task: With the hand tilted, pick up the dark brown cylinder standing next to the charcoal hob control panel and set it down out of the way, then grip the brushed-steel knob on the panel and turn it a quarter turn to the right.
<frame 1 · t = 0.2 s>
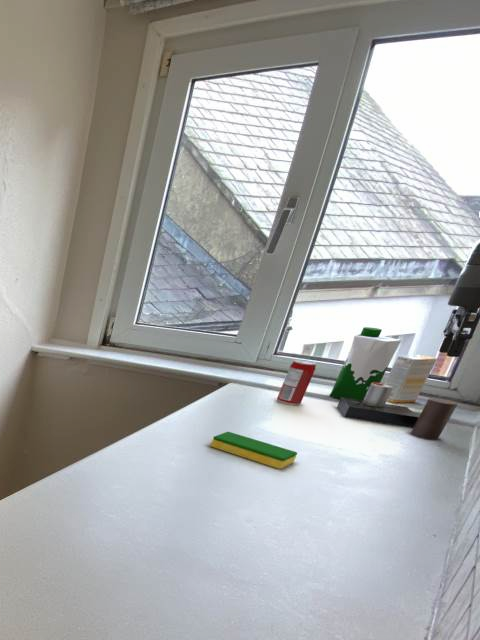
hand: (448, 354, 136), 18 cm above the counter, tool pointing down, fingers open, 8 cm apart
dark brown cylinder: (423, 435, 135), on the counter
milk carton: (349, 399, 162), on the counter
dish sponge: (250, 455, 120), on the counter
hob knob: (377, 394, 145), point 6 cm above the counter, hinge at 0.0°
soda can: (287, 403, 156), on the counter
supplement box: (395, 400, 163), on the counter
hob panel: (373, 417, 147), on the counter
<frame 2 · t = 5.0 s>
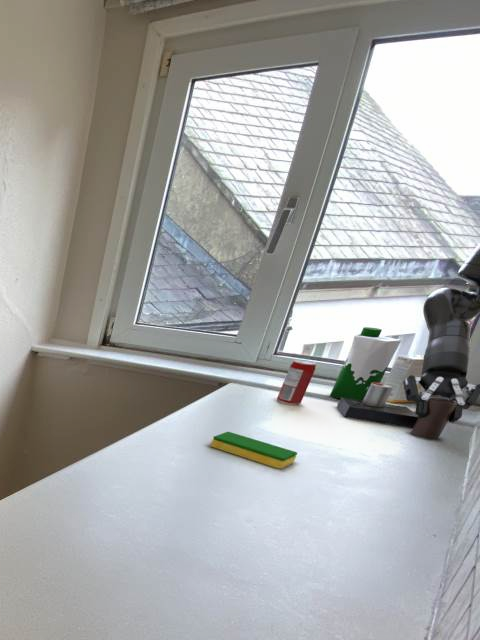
hand: (437, 418, 131), 5 cm above the counter, tool tilted 45°, fingers closed on dark brown cylinder, 5 cm apart
dark brown cylinder: (424, 435, 135), on the counter, touching gripper
everything else where it was.
when the fingers open (5 cm above the counter, at t = 14.1 s): dark brown cylinder stays where it is, on the counter.
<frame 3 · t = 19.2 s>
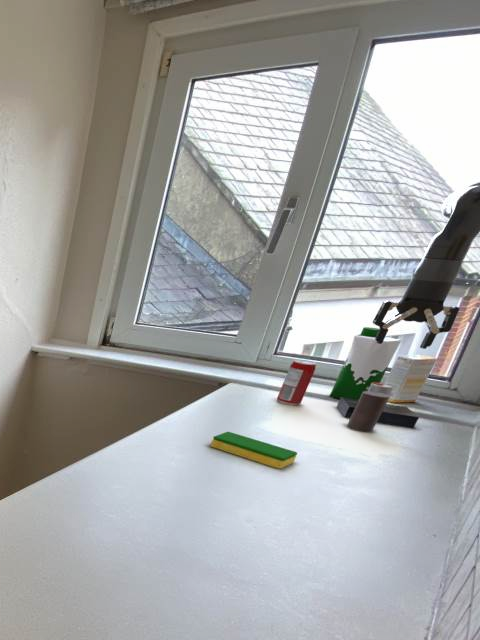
hand: (400, 345, 140), 19 cm above the counter, tool pointing down, fingers open, 8 cm apart
dark brown cylinder: (359, 428, 138), on the counter
everything else where it was.
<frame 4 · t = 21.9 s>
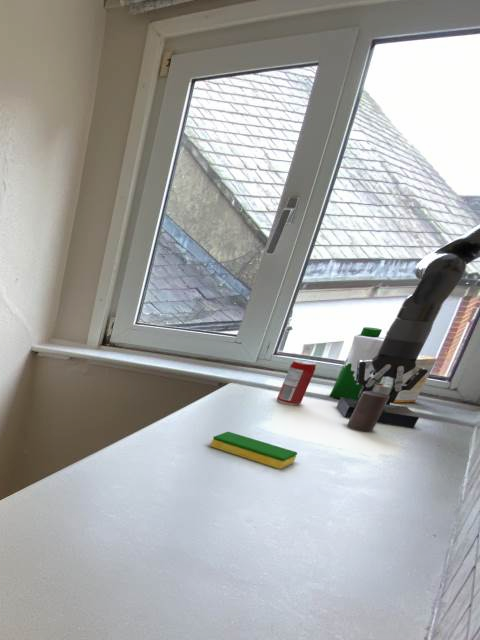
hand: (374, 401, 146), 4 cm above the counter, tool pointing down, fingers closed on hob knob, 4 cm apart
hob knob: (377, 394, 145), point 6 cm above the counter, hinge at 0.0°, touching gripper
everything else where it was.
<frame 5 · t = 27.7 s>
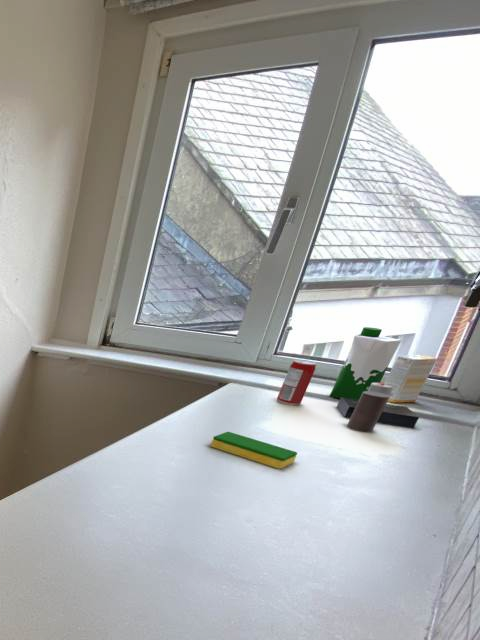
hand: (476, 309, 138), 28 cm above the counter, tool pointing down, fingers open, 8 cm apart
hob knob: (377, 394, 145), point 6 cm above the counter, hinge at -91.6°
everything else where it was.
at the end: hob knob at -92° (first picture: +0°); dark brown cylinder inside the target area (0.0 cm from its centre), on the counter; dark brown cylinder tilted 0° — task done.
